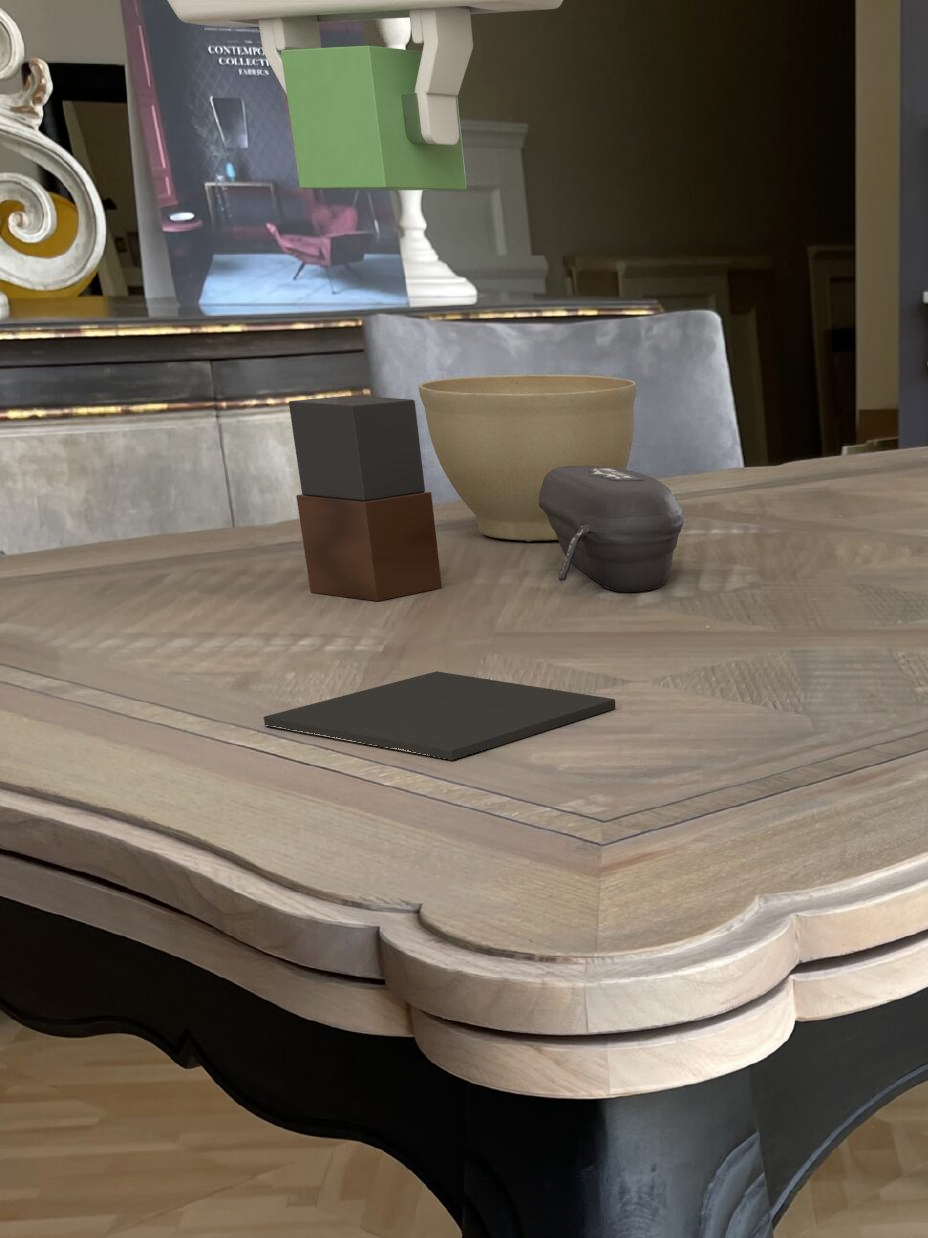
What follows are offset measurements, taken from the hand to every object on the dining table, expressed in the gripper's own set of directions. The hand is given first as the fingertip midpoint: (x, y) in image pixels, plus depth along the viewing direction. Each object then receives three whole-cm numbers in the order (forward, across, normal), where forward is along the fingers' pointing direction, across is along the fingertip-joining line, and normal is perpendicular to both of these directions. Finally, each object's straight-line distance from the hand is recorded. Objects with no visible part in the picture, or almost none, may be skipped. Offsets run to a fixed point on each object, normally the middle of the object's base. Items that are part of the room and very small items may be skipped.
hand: (378, 146), depth 77 cm
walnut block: (+24, -28, +24) cm, 44 cm away
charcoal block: (+18, -28, +24) cm, 41 cm away
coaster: (+24, 0, 0) cm, 24 cm away
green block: (+2, 0, 0) cm, 2 cm away
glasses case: (+24, -19, +37) cm, 48 cm away
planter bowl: (+24, -35, +49) cm, 65 cm away
